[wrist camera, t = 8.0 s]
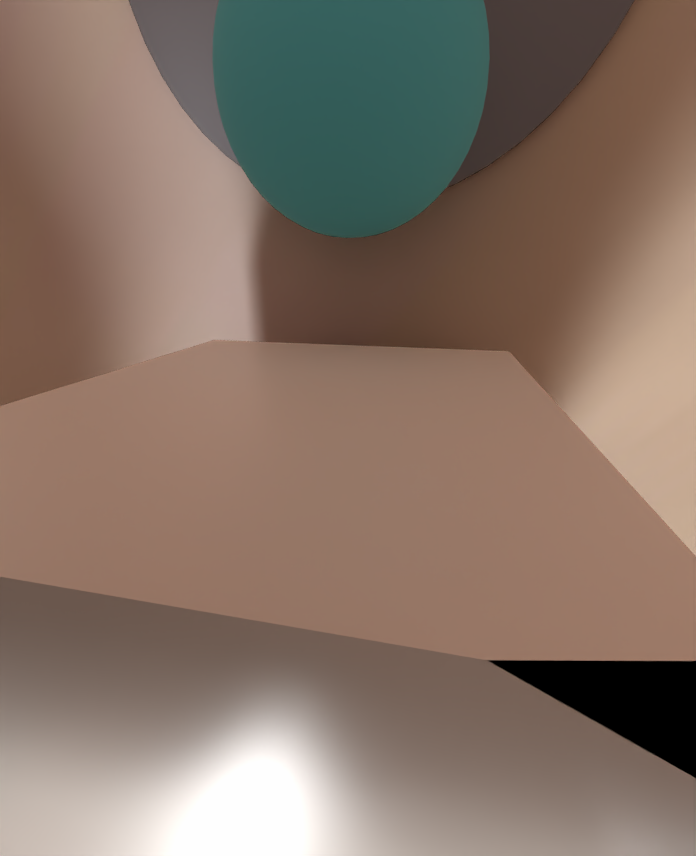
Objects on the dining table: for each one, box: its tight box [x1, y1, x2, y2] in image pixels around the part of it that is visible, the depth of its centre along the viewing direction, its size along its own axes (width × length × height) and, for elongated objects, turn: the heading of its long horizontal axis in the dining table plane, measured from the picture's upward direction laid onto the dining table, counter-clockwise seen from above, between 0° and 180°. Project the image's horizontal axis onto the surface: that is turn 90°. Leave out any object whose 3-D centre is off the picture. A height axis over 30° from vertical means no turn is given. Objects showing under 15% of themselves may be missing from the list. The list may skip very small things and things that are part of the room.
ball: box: [212, 0, 490, 238], centre depth 8 cm, size 5×5×5 cm
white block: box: [0, 340, 696, 856], centre depth 8 cm, size 8×8×9 cm
